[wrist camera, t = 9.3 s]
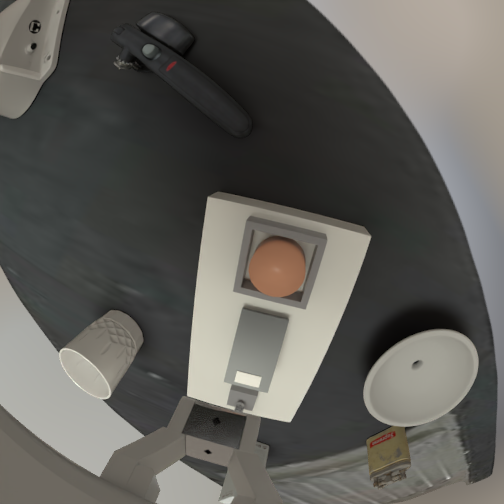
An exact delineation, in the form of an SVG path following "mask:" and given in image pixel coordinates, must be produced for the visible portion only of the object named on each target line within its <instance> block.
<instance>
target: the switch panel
mask: <svg viewBox="0 0 504 504" xmlns="http://www.w3.org/2000/svg"><path fill="white" fill-rule="evenodd" d="M272 236H282V237H286V238H290V239H293V240H295V241H296V242H297V243H298V244H299V245H300V246H301V248H302V249H303V251H304V254H305V279H304V281H303V283H302V285H301V286H300V288H299V289H298V290H297V291H295V292H294V293H292V294H290V295H288V296H284V297H272V296H268V295H266V294H263V293H262V292H260V291H259V290H258V289H257V288H256V287H255V286H254V285H253V283H252V282H251V279H250V276H249V264H250V261H251V259H252V257H253V254H254V252H255V250H256V248H257V247H258V245H259V244H260V243H261V242H262V241H263V240H265V239H267V238H269V237H272ZM370 239H371V235H370V234H369V233H368V231H367V230H366V228H365V227H363V226H360V225H356V224H352V223H349V222H345V221H341V220H338V219H334V218H330V217H326V216H322V215H319V214H315V213H311V212H307V211H303V210H299V209H295V208H290V207H286V206H282V205H278V204H274V203H269V202H265V201H261V200H256V199H252V198H247V197H242V196H238V195H233V194H228V193H224V192H219V191H218V192H216V193H214V194H212V195H210V196H208V199H207V206H206V212H205V219H204V227H203V234H202V241H201V249H200V257H199V265H198V274H197V283H196V292H195V302H194V312H193V323H192V334H191V346H190V359H189V374H188V391H187V396H189V397H192V398H195V399H198V400H202V401H205V402H208V403H211V404H215V405H218V406H222V407H225V408H229V409H232V410H234V409H235V406H236V404H237V403H238V402H242V403H243V404H244V409H243V412H244V413H248V414H252V415H257V416H261V417H266V418H270V419H275V420H280V421H285V422H291V420H292V418H293V417H294V415H295V413H296V411H297V409H298V407H299V406H300V404H301V402H302V400H303V398H304V396H305V394H306V392H307V390H308V388H309V387H310V385H311V383H312V381H313V379H314V377H315V375H316V373H317V371H318V368H319V366H320V364H321V362H322V360H323V358H324V356H325V354H326V352H327V349H328V347H329V345H330V343H331V341H332V338H333V336H334V334H335V331H336V329H337V327H338V325H339V322H340V320H341V317H342V315H343V313H344V310H345V308H346V305H347V303H348V300H349V298H350V295H351V293H352V290H353V287H354V285H355V282H356V279H357V277H358V274H359V271H360V268H361V266H362V263H363V260H364V257H365V254H366V251H367V248H368V245H369V242H370ZM243 307H244V308H248V309H252V310H256V311H260V312H264V313H268V314H272V315H276V316H280V317H284V318H288V319H289V323H288V326H287V330H286V333H285V337H284V340H283V344H282V347H281V351H280V354H279V358H278V361H277V365H276V368H275V371H274V374H273V378H272V381H271V384H270V387H269V391H268V393H265V392H261V391H256V390H252V389H248V388H244V387H241V386H237V385H233V384H229V383H226V382H224V378H225V374H226V370H227V366H228V362H229V358H230V354H231V350H232V346H233V342H234V338H235V334H236V331H237V327H238V323H239V319H240V315H241V311H242V308H243Z"/></svg>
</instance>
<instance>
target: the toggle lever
mask: <svg viewBox="0 0 504 504" xmlns="http://www.w3.org/2000/svg"><path fill="white" fill-rule="evenodd" d="M243 409H244V404H243V403H242V402H238V403H237V404H236V406H235V409H234V411H237V412H241V413H243Z"/></svg>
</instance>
